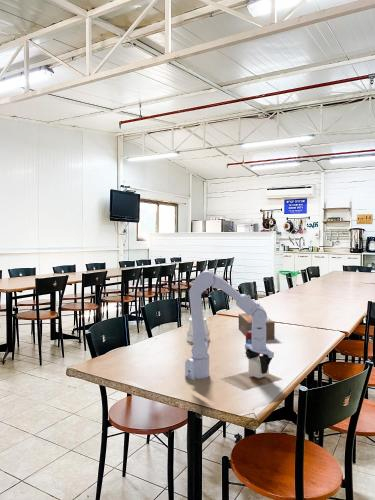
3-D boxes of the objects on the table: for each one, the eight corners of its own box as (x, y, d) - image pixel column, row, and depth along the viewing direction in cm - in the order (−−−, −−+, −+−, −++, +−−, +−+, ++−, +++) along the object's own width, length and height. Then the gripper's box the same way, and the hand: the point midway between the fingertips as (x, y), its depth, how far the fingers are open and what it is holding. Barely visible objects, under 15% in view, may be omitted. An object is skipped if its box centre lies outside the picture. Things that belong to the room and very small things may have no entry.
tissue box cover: (274, 339, 217) (274, 322, 217) (249, 340, 216) (249, 322, 215) (261, 328, 243) (261, 313, 242) (238, 329, 241) (238, 313, 241)
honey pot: (189, 336, 225) (189, 305, 224) (211, 337, 222) (211, 306, 222) (184, 342, 212) (184, 309, 212) (207, 343, 210) (207, 310, 209)
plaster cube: (258, 378, 152) (258, 362, 151) (248, 373, 156) (248, 359, 156) (268, 375, 155) (268, 360, 155) (258, 371, 159) (258, 356, 159)
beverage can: (244, 357, 186) (244, 332, 185) (247, 353, 192) (247, 329, 192) (258, 358, 183) (258, 333, 183) (261, 354, 190) (261, 330, 189)
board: (244, 394, 142) (244, 390, 142) (220, 382, 154) (220, 378, 154) (282, 382, 153) (282, 379, 153) (257, 372, 165) (257, 368, 165)
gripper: (279, 339, 151) (279, 374, 152) (253, 332, 163) (253, 364, 164) (266, 342, 147) (266, 377, 148) (240, 334, 159) (241, 367, 160)
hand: (258, 370), depth 156 cm, fingers closed on plaster cube, 6 cm apart
